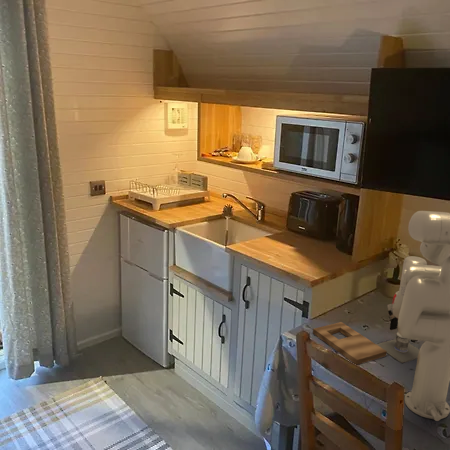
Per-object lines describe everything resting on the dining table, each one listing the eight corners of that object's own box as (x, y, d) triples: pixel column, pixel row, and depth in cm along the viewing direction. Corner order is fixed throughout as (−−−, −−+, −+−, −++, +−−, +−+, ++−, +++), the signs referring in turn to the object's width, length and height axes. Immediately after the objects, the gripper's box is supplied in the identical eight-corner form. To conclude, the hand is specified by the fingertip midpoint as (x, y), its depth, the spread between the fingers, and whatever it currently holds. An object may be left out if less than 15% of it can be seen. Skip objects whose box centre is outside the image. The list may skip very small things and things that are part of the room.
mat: (427, 355, 174) (427, 354, 174) (401, 363, 168) (402, 362, 168) (399, 338, 185) (399, 337, 185) (374, 345, 179) (374, 344, 179)
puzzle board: (385, 356, 173) (386, 351, 172) (356, 365, 166) (356, 359, 166) (340, 326, 193) (341, 321, 192) (312, 333, 186) (313, 328, 186)
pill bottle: (397, 344, 180) (400, 324, 177) (409, 349, 177) (413, 328, 175) (392, 349, 176) (395, 328, 174) (405, 354, 173) (408, 333, 171)
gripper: (438, 299, 165) (430, 344, 169) (399, 281, 179) (392, 322, 184) (423, 302, 161) (415, 348, 166) (384, 284, 176) (378, 326, 180)
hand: (403, 335), depth 175 cm, fingers open, 9 cm apart
